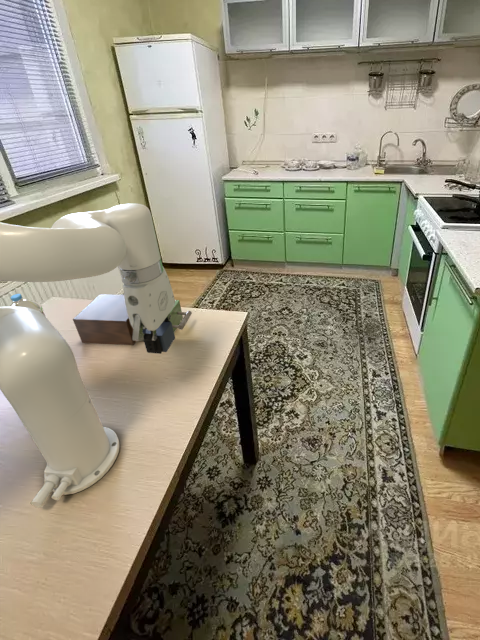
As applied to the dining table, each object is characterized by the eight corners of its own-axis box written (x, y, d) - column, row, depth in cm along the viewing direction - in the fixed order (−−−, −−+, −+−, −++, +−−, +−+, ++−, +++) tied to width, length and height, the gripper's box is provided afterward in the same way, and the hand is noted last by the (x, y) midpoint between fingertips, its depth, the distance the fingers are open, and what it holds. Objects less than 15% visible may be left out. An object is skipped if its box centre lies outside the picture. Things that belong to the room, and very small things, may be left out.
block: (166, 352, 67) (162, 335, 65) (146, 351, 68) (141, 334, 66) (175, 338, 71) (171, 322, 69) (156, 337, 72) (152, 321, 70)
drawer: (196, 318, 101) (192, 300, 98) (182, 343, 91) (178, 324, 88) (139, 316, 103) (134, 298, 100) (119, 340, 93) (112, 321, 90)
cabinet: (153, 317, 103) (147, 295, 99) (133, 345, 92) (125, 321, 88) (107, 316, 105) (100, 294, 101) (82, 343, 94) (72, 319, 90)
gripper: (136, 295, 53) (159, 375, 62) (179, 250, 68) (192, 320, 77) (94, 293, 54) (122, 372, 62) (145, 249, 69) (162, 318, 77)
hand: (160, 343), depth 69 cm, fingers closed on block, 4 cm apart
